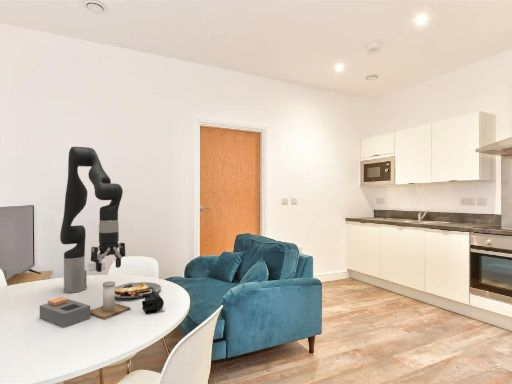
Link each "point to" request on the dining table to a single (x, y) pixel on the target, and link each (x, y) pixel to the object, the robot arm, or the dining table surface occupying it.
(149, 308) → the end cap
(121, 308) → the walnut board
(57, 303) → the orange cube
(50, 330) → the dining table surface
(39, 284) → the dining table surface
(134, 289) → the food plate
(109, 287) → the cylinder
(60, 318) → the grey hollow block
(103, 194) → the robot arm
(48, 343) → the dining table surface
